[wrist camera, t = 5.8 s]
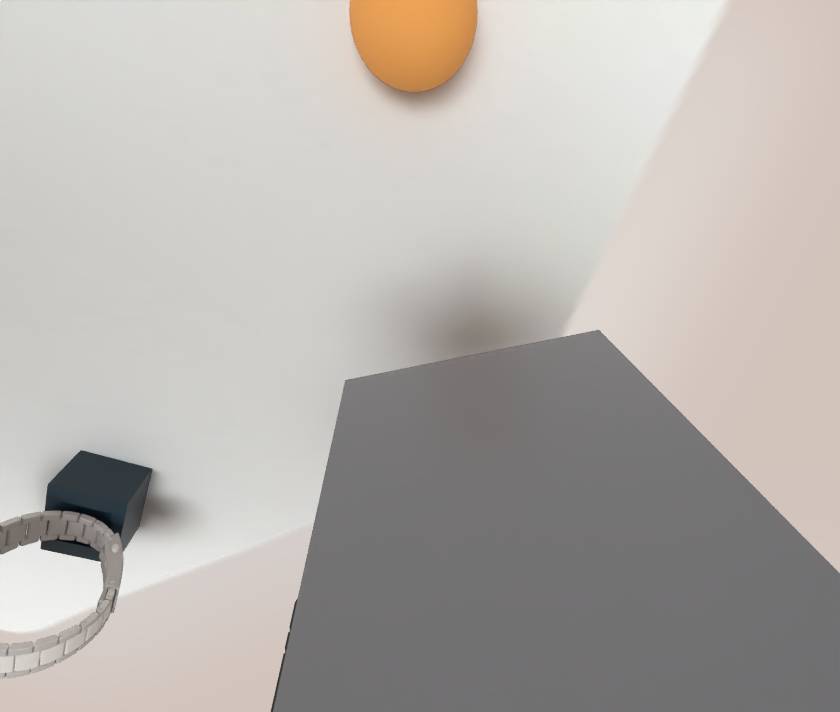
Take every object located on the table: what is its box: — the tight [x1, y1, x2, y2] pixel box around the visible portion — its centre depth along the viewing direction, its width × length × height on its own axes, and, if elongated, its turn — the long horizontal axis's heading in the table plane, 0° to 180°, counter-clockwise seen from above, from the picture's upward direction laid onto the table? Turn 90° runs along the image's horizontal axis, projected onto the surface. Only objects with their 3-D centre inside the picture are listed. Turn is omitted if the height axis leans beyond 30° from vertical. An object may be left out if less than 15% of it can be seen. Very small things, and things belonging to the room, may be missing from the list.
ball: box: [350, 0, 477, 92], centre depth 18 cm, size 5×5×5 cm
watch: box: [0, 451, 152, 678], centre depth 25 cm, size 6×8×11 cm
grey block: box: [273, 330, 840, 712], centre depth 10 cm, size 7×7×9 cm
